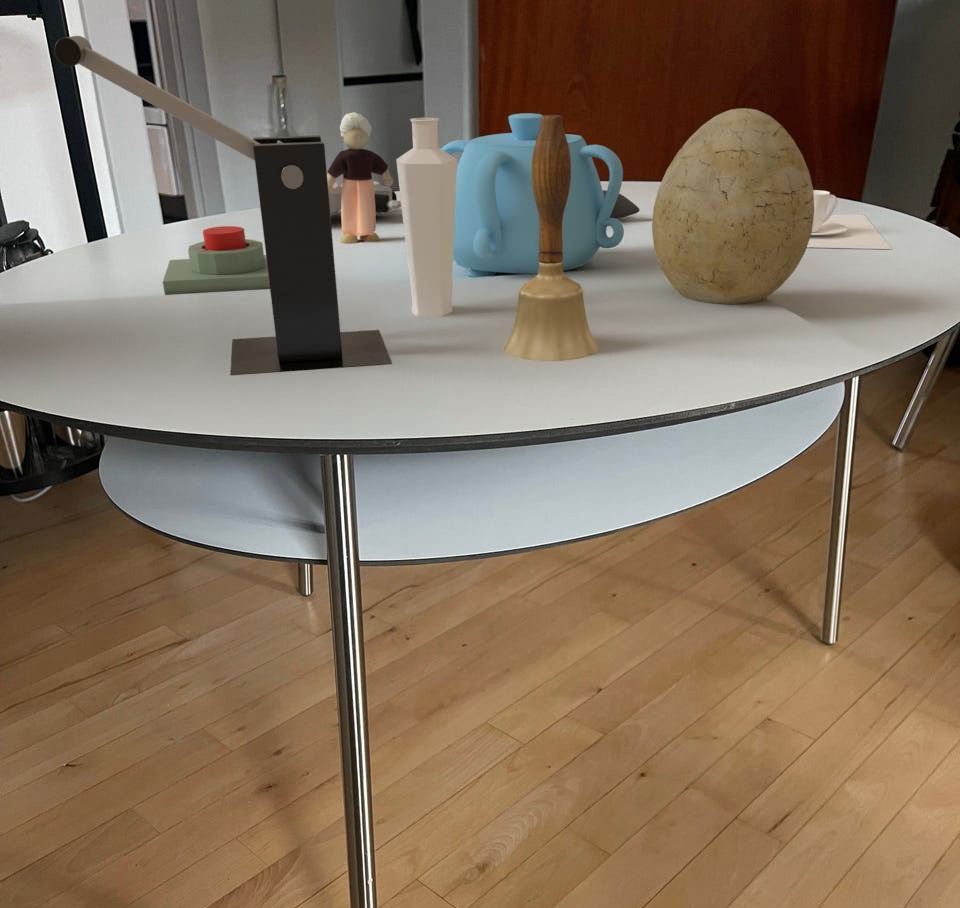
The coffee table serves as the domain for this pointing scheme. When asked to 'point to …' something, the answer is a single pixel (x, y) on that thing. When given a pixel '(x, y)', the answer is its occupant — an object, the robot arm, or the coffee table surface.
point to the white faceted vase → (428, 218)
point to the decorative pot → (527, 202)
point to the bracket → (300, 268)
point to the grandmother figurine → (357, 180)
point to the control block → (218, 270)
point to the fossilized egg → (733, 210)
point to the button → (224, 238)
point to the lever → (150, 93)
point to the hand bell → (551, 264)
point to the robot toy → (383, 199)
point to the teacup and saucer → (841, 228)
